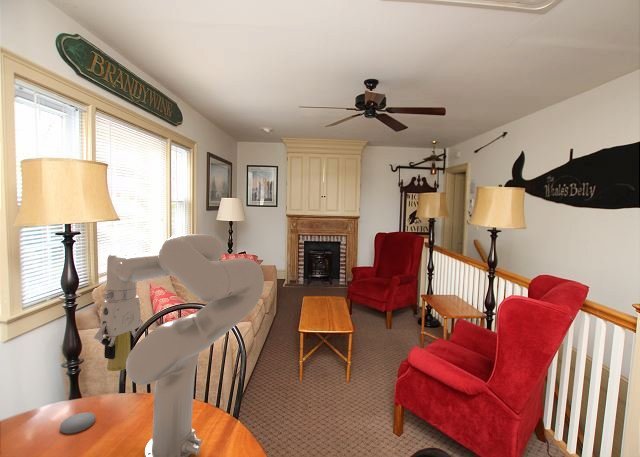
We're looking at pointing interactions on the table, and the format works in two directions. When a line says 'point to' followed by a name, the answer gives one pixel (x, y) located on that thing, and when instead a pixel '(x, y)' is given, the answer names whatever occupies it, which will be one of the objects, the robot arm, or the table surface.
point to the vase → (120, 352)
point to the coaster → (77, 423)
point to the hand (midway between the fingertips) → (119, 353)
